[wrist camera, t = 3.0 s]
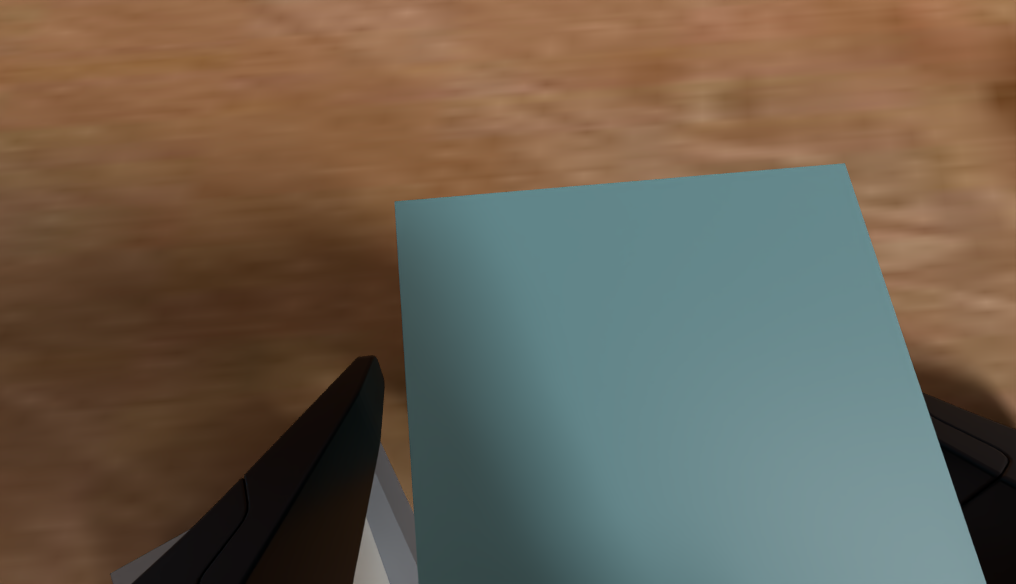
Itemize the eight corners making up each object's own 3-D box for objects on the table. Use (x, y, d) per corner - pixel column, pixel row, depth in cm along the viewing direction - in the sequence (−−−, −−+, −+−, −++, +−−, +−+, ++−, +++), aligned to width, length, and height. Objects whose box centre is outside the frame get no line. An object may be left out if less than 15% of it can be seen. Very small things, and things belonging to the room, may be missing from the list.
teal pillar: (591, 430, 16) (1022, 691, 3) (477, 445, 15) (434, 821, 3) (573, 317, 17) (844, 163, 4) (466, 330, 16) (394, 201, 4)
